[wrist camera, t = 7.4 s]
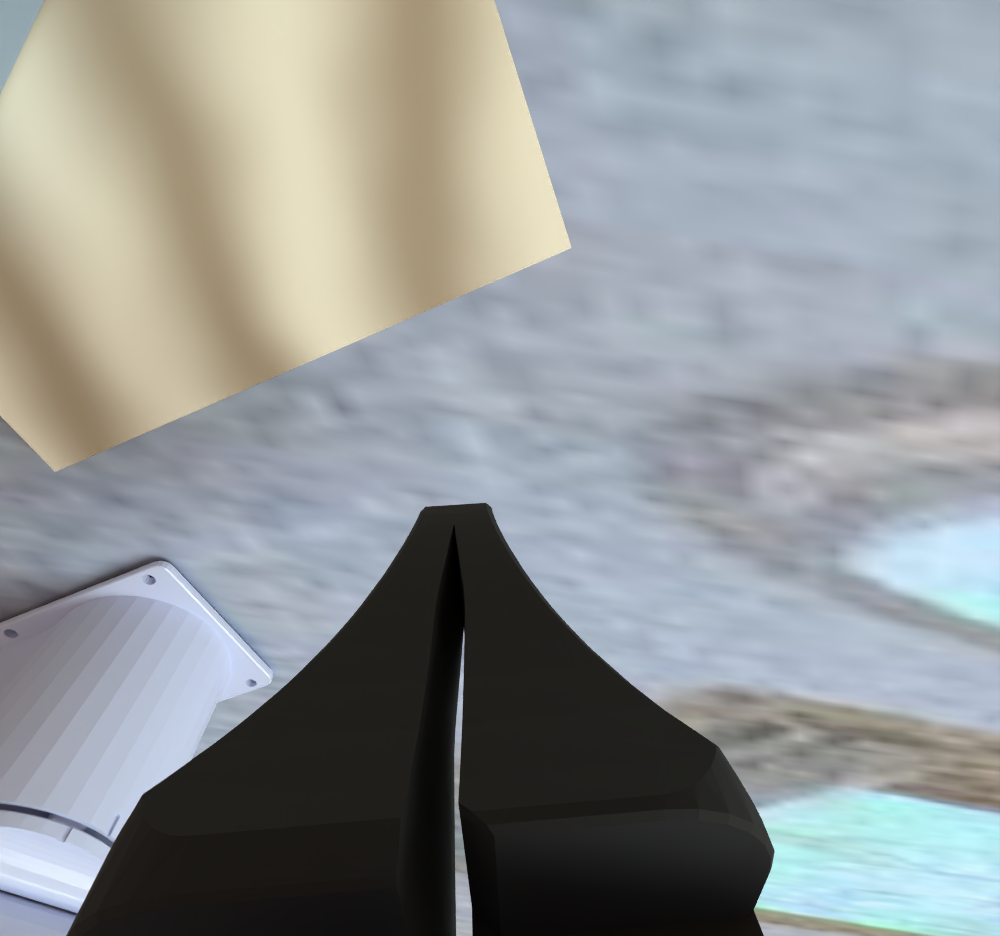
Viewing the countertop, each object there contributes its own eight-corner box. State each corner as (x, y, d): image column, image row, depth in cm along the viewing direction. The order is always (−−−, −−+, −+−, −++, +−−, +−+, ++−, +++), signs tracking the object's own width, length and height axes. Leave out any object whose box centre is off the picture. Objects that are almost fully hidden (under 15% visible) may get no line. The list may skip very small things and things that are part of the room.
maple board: (76, 455, 20) (55, 472, 19) (-463, -122, 12) (-551, -150, 11) (564, 242, 17) (571, 248, 16) (278, -662, 9) (256, -765, 8)
